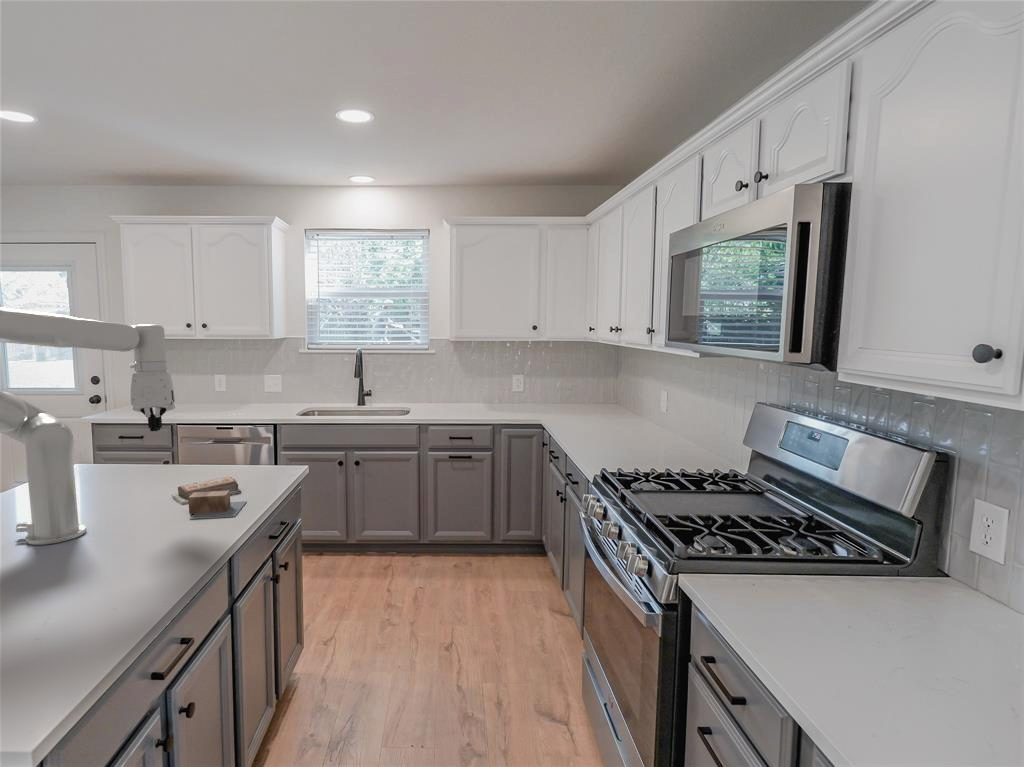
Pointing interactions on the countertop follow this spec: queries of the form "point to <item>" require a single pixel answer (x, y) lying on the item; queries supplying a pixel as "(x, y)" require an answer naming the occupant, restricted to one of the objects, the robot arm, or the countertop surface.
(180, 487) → the packaged product
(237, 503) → the rubber mat
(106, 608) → the countertop surface
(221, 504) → the walnut block
